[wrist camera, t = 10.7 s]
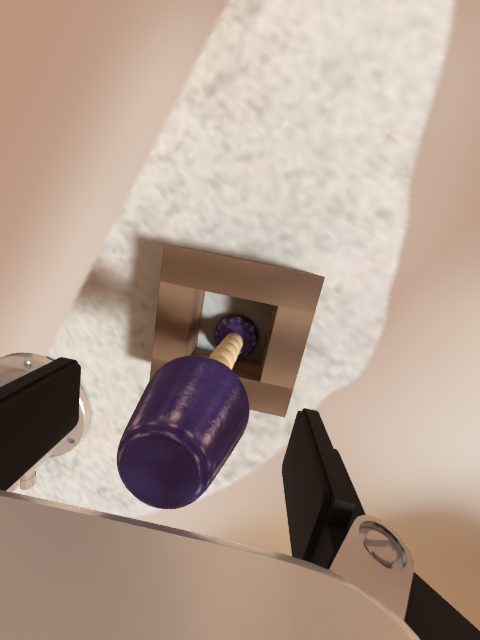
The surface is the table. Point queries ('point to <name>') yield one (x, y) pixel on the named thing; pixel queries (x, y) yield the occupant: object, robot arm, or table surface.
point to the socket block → (247, 283)
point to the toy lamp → (188, 421)
